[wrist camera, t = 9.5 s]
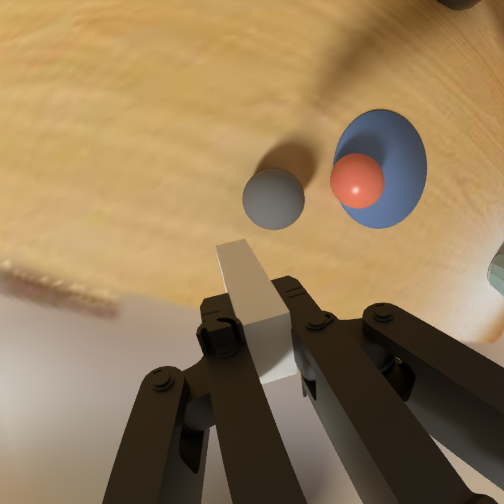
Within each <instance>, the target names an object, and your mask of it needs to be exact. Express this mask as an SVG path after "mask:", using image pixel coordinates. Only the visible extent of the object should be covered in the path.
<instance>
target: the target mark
mask: <svg viewBox="0 0 504 504" xmlns="http://www.w3.org/2000/svg"><path fill="white" fill-rule="evenodd" d="M353 153H359V154H364V155H367V156H369V157H371V158H372V159H374V160H375V161H376V162H377V163H378V164H379V166H380V167H381V169H382V171H383V174H384V179H385V185H384V190H383V193H382V195H381V197H380V198H379V199H378V201H377V202H375V203H374V204H373V205H371V206H369V207H366V208H361V209H356V208H351V207H348V206H346V205H344V204H343V203H341V204H342V206H343V208H344V209H345V211H346V212H347V213H348V214H349V215H350V216H351V217H352V218H353V219H354V220H355V221H357V222H358V223H360V224H362V225H364V226H366V227H370V228H376V229H382V228H388V227H391V226H394V225H396V224H397V223H399V222H401V221H402V220H404V219H405V218H406V217H407V216H408V215H409V214H410V213H411V212H412V211H413V209H414V208H415V206H416V205H417V203H418V201H419V200H420V197H421V195H422V193H423V189H424V186H425V182H426V175H427V161H426V154H425V150H424V146H423V143H422V141H421V138H420V136H419V135H418V133H417V131H416V130H415V128H414V127H413V126H412V125H411V124H410V123H409V122H408V121H407V120H406V119H405V118H403V117H402V116H400V115H399V114H396V113H394V112H391V111H386V110H376V111H371V112H367V113H365V114H363V115H361V116H359V117H358V118H356V119H355V120H354V121H353V122H352V123H351V124H350V125H349V126H348V127H347V129H346V130H345V131H344V133H343V135H342V136H341V138H340V141H339V143H338V145H337V149H336V152H335V157H334V165H335V164H336V162H337V161H338V160H340V159H341V158H342V157H344V156H346V155H349V154H353ZM333 167H334V166H333Z"/></svg>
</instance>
